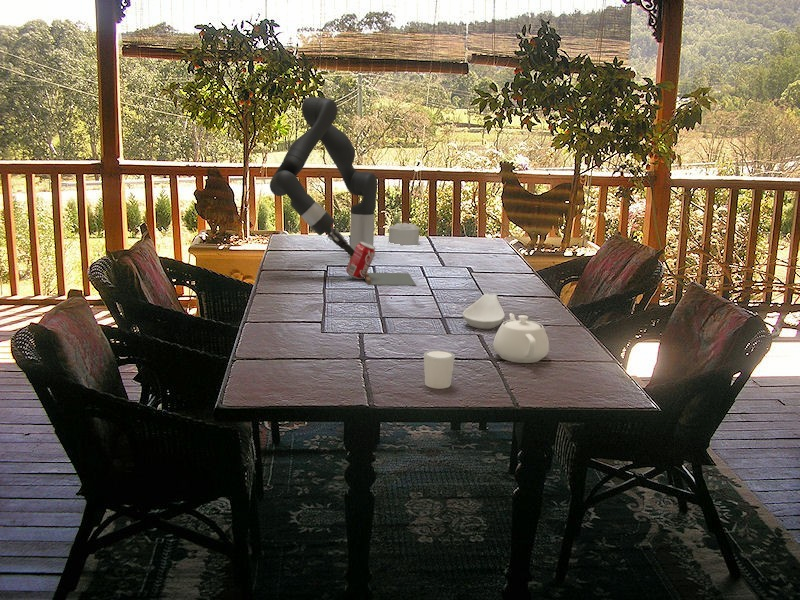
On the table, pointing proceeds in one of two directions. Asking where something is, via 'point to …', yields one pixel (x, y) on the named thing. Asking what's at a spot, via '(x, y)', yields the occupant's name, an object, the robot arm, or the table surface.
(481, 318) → the spoon rest
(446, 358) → the white cup
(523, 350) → the teapot
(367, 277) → the stop strip
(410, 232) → the grey rounded block
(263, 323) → the table surface
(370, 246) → the soda can
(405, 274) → the mat
